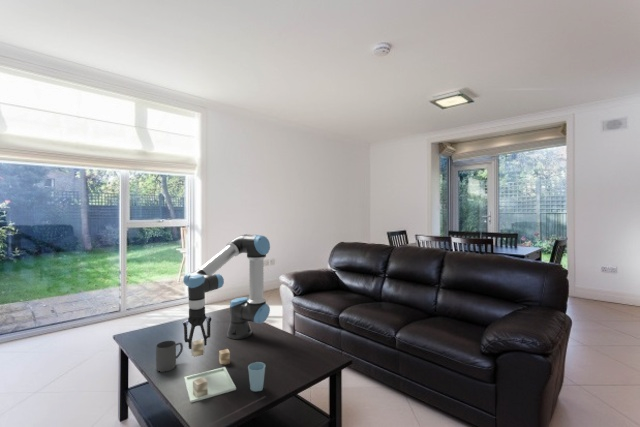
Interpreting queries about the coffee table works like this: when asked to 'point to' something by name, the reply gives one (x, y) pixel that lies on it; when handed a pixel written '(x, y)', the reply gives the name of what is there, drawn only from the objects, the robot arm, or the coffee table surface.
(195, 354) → the beech block
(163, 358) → the mug
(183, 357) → the coffee table surface
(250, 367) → the cup
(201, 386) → the maple block
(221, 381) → the tray
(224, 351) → the oak block
